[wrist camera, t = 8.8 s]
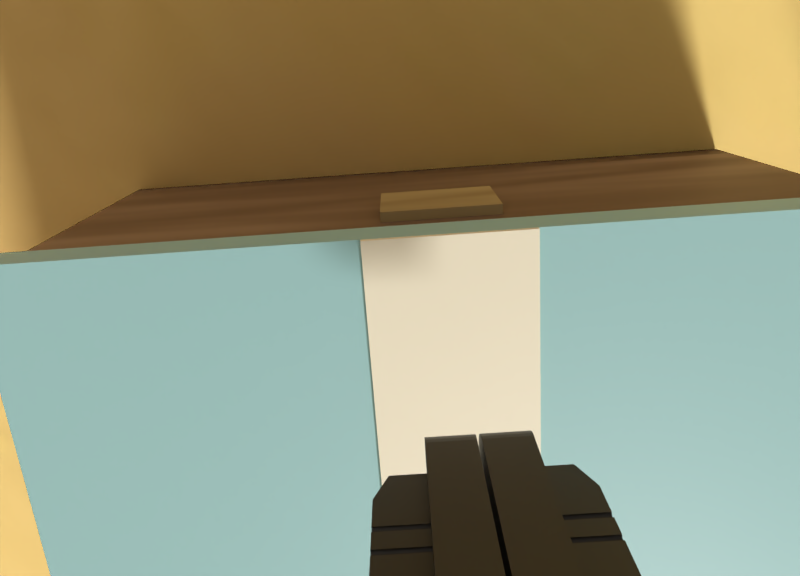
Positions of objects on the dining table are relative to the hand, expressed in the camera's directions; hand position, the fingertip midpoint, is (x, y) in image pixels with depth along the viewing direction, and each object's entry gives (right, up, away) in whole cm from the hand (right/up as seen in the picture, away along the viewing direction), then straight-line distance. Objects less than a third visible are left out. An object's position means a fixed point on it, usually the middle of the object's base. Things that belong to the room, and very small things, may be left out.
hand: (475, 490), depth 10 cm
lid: (0, -2, +5) cm, 5 cm away
